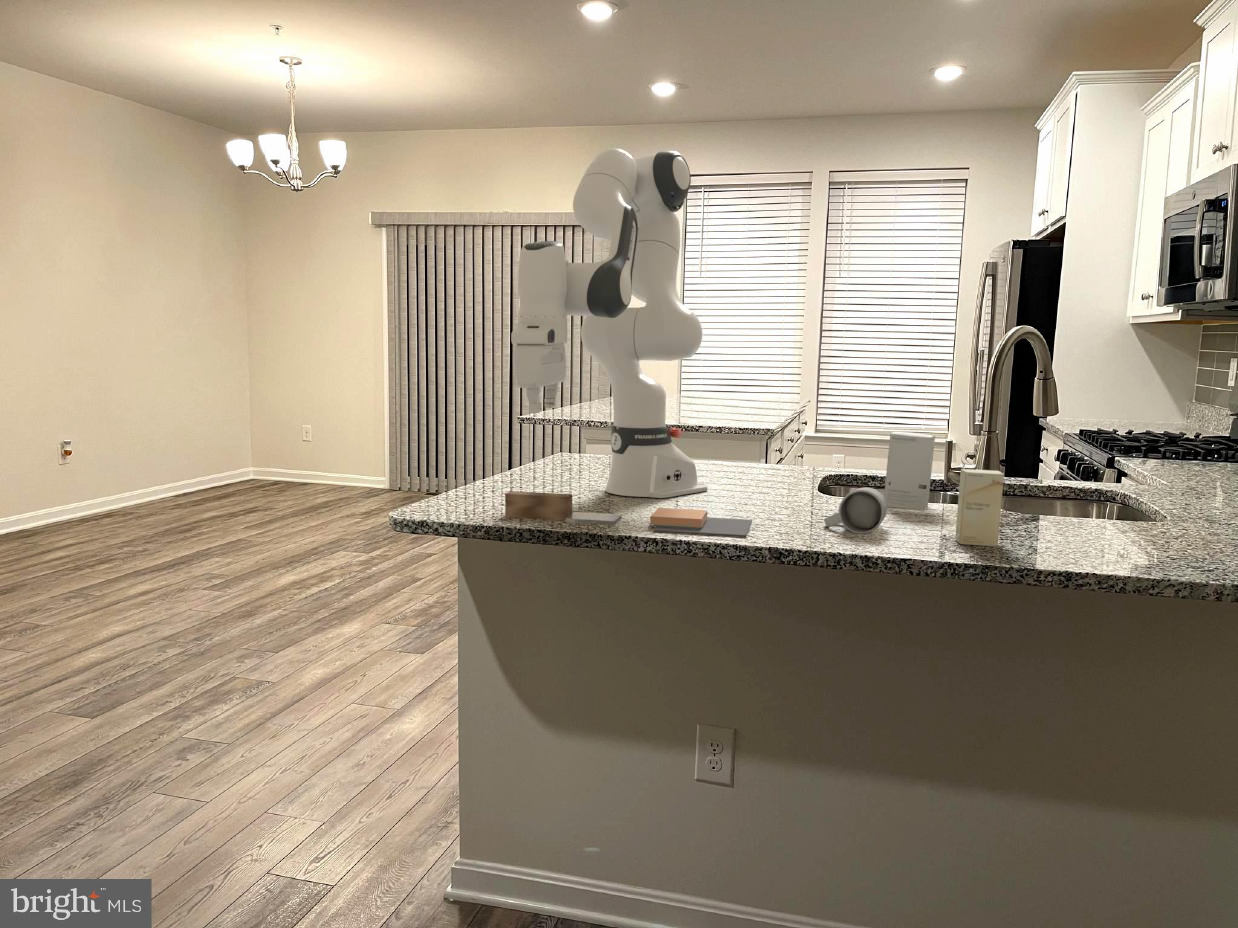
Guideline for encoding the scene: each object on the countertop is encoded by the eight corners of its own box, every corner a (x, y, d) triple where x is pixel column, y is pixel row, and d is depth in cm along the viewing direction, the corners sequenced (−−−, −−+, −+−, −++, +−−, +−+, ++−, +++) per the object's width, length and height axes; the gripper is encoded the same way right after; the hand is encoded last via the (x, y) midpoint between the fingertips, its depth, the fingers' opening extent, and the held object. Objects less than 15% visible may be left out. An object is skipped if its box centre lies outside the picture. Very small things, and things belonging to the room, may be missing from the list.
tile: (650, 516, 158) (701, 519, 156) (658, 507, 165) (707, 510, 164) (650, 526, 158) (701, 529, 156) (658, 517, 166) (707, 520, 164)
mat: (652, 531, 155) (652, 529, 155) (665, 516, 168) (665, 514, 168) (746, 537, 152) (746, 535, 152) (751, 521, 165) (751, 519, 165)
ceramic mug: (887, 526, 162) (889, 484, 161) (882, 536, 155) (884, 491, 154) (827, 522, 166) (829, 481, 165) (820, 531, 159) (821, 488, 157)
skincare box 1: (882, 507, 180) (887, 433, 178) (887, 502, 185) (892, 430, 183) (926, 511, 176) (931, 436, 174) (930, 506, 182) (935, 433, 180)
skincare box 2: (959, 544, 149) (964, 472, 147) (954, 538, 153) (959, 468, 151) (999, 547, 148) (1005, 473, 146) (993, 541, 152) (999, 469, 150)
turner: (502, 518, 165) (502, 495, 164) (513, 512, 171) (513, 489, 170) (614, 525, 161) (614, 501, 160) (621, 518, 166) (621, 495, 166)
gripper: (542, 332, 173) (542, 404, 175) (507, 333, 153) (508, 415, 155) (574, 333, 171) (574, 405, 174) (543, 334, 152) (543, 416, 154)
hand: (542, 410), depth 164 cm, fingers open, 8 cm apart
